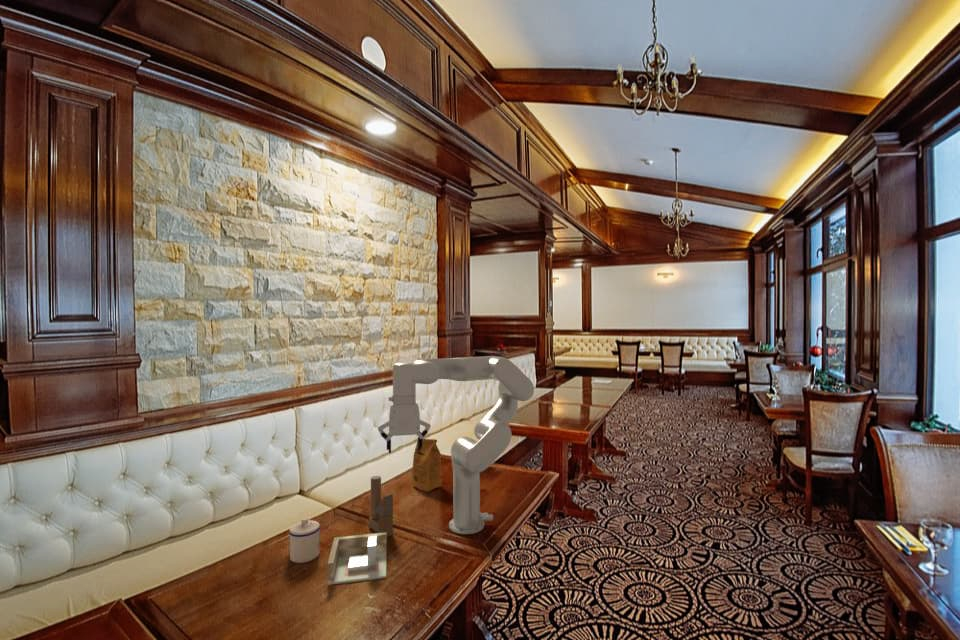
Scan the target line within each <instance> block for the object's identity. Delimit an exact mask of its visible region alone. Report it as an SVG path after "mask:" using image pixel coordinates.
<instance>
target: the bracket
mask: <svg viewBox="0 0 960 640" xmlns="http://www.w3.org/2000/svg"><path fill="white" fill-rule="evenodd" d="M367 548H368V555H360V556H351V557H350V559H349V565H348V573H351V572H359V571H368V570H376V567H377V536H370V537H368V547H367Z"/></svg>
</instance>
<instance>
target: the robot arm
mask: <svg viewBox="0 0 960 640" xmlns="http://www.w3.org/2000/svg"><path fill="white" fill-rule="evenodd" d="M439 380H450V381H455V382H456V381H457V382H472V381H485V380H494V381H498V397H497V401H496V403H495V404H494V406H493V407H491V409H490V410H489V411H487V413H486V414H485V415H484V416H483V417H482V418H481V419H480V420H479V421H478V422H477V423H476V425H475V426H474V429H473V430H474V431H473V434H474V436H475V437H476V439H478V441H476V440H475V439H474V438H471V437H468V436H460V437H458V438H457V439H456V440H455V441H454V442H453V443H452V446H451V448H450V449H451V450H450V456H451V457H450V459H451V466H452V475H453V476H452V478H453V479H452V480H453V481H452V483H453V485H452V488H453V489H452V490H453V492H452V494H453V495H452V496H453V497H452V500H453V501H452V502H453V503H452V504H453V505H452V506H453V509H452V510H453V511H452V512H453V513H452V514H453V518H452V519H451V520H450V521H448V527H449V530H450V531H451V532H453V533H455V534H459V535H474V534H477V533H479V532H481V531H483V529H484V528H485V521H488V522H490V521H493V520H494V515H493V514H489V513H488V512H481V502H480V501H481V495H480V494H481V487H480V485H481V476H480V473H482V472H483V471H486V470H487V469H488V468H489V467H490V466H491V465H492V464H493V463H494V462H495V461H496V460H497V459H498V458H499V457H500V456H501V454H502V453H503V452H504V451H506V449H507V448H508V447H509V445H510V443H511V440H512V434H513V433H512V429H511V427H510V426H509V424H510V423H511V422H512V421H513V420H514V419H515V417H516V415H517V412H518V406H519V404H518V403H519V402H527V401H529V400H530V399H531V398H532V397H533V396H534V392H535V385H534V384H533V381H532V380H531V379H530V378H529V377H528V376H527V374H525V373H524V372H523V371H522V370H521V369H520V368H519V367H518V366H517V365H516V364H515V363H513V362H512V361H511V360H510V359H508V358H506V357H501V356H497V355H485V356H468V357H467V356H466V357H450V358H449V357H447V358H426V359H425V358H424V359H423V358H422V359H417V360H414V361H413V362H405V361H404V362H396V363H394V364H393V366H392V395H391V396H388V401H389V402H392V403H391V404H390V408H389V413H388V415H389V416H388V421H387V422H385V423H383V424H381V425H379V426H378V427H377V431H378V432H379V434H380V435H381V437H382V438H383V439H384V440H385V441H386V451H388V453H389V454H391V453H392V438H393V436H394V437H395V436H396V437H398V436H414V435H416V436H417V441H418V451H420V448H422V439H423V438H425V436H426V435H427V434H428V432H429V430H430V429H431V423H428V422H426V421H424V420H421V418H420V417H421V415H420V408H419V403H418V402H417V398H416V397H417V390H416V388H417V387H416V384H418V385H420V384H421V385H432V384H434V383H436V382H437V381H439ZM421 426H423V427H424V430H422V431H421ZM386 428H388V433H386V432H385V431H384V429H386Z"/></svg>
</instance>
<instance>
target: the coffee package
mask: <svg viewBox="0 0 960 640" xmlns="http://www.w3.org/2000/svg"><path fill="white" fill-rule="evenodd" d="M437 443H438V440H437V439H435V438H425V437H423V439H422V448H420V451H418V440H416V445H415V449H414V453H413V458H412V459H413V460H412V470H411V471H412V472H411V473H412V487H413V488H417V489H418V490H419V491H421V492H422V491H423V492H427V493H429V492H432V490H435V489H436V488H440V486H442V484H441V483H442V482H441V479H442V477H441V473H442V470H441V469H442V468H441V467H442V454H441V452H440V449H439V448H438V445H437Z"/></svg>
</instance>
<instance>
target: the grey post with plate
mask: <svg viewBox="0 0 960 640" xmlns="http://www.w3.org/2000/svg"><path fill="white" fill-rule="evenodd" d="M368 527H369V528H370V529H371V530H372V531H374V533H385V532H386V533H387V538H389V537H391V536H393V535H394V494H393V493H391V494H389V495H385V496H383V497H382V477H381V476H379V475H375V476H371V478H370V516H369V517H368Z"/></svg>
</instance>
